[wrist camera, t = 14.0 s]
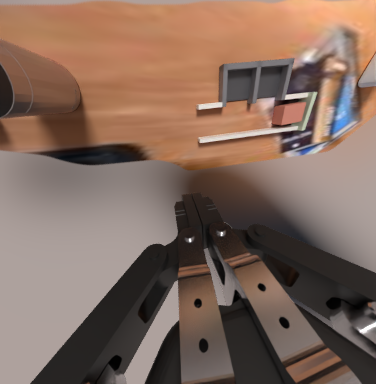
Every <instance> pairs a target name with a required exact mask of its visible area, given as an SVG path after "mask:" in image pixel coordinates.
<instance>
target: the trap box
mask: <svg viewBox="0 0 376 384" xmlns="http://www.w3.org/2000/svg"><path fill="white" fill-rule="evenodd" d="M294 59H295V58H291V59H279V60H267V61H255V62H243V63H231V64H223V65H222V66H220V73H219V102H217V103H208V104H199V105H196V109H198V110H200V109H208V108H217V107H226V101H235V100H244V99H248V101H247V104H252V103H256V100H257V98H263V97H272V96H275V100H287V99H296V98H299V100H298V102H306V106H305V110H304V113H303V117H302V121H300V122H295V123H292V125H288V126H281V127H273V128H266V129H258V130H251V131H243V132H236V133H228V134H221V135H213V136H206V137H198V142H199V143H205V142H212V141H219V140H227V139H234V138H241V137H248V136H256V135H263V134H270V133H277V132H285V131H292V130H301V131H302V130H305V127H306V124H307V121H308V118H309V115H310V112H311V109H312V106H313V103H314V100H315V98H316V95H317V92H309V93H299V94H290V95H286V92H287V88H288V84H289V80H290V76H291V71H292V67H293V63H294Z"/></svg>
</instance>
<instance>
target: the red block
mask: <svg viewBox="0 0 376 384" xmlns="http://www.w3.org/2000/svg"><path fill="white" fill-rule="evenodd" d="M305 106H306V102H294V103H289V104H284V105H279V106H275V108H274V114H273V120H272V124H277V125H285V124H290V123H295V122H300V121H302V117H303V113H304V110H305Z"/></svg>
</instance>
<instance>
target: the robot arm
mask: <svg viewBox="0 0 376 384" xmlns="http://www.w3.org/2000/svg"><path fill="white" fill-rule="evenodd" d="M80 98H81V95H80V90H79V87H78V84H77V83H76V81H75V79H74V78H73V76H72V75H71V74H70V73H69V72H68V71H67V69H65V68H64V67H63V66H62V65H60V64H58V63H57V62H55V61H52V60H50V59H48V58H45V57H43V56H41V55H38V54H36V53H33V52H31V51H29V50H26V49H24V48H21V47H19V46H16V45H14V44H12V43H9V42H7V41H4V40H2V39H0V119H4V118H14V117H25V116H37V115H48V114H59V113H69V112H72V111H74V110H75V109H77V107H78V106H79V103H80ZM175 214H176V221H177V227H178V235H177V237H176V239H175V240H174V241H173V242H171V243H170V244H168V245H166V246H163V245H162V244H153V245H150V246H148V247H147V248H146V249H145V250H144V251H143V252H142V253H141V255H140V256H139V257H138V258H137V259H136V260H135V262H134V263H133V264H132V265H131V266H130V268H129V269H128V270H127V271H126V272H125V273H124V275H123V276H122V277H121V278H120V279H119V280H118V282H117V283H116V284H115V285H114V286H113V287H112V289H111V290H110V291H109V292H108V293H107V295H106V296H105V297H104V298H103V299H102V300H101V301H100V303H99V304H98V305H97V306H96V307H95V308H94V310H93V311H92V312H91V313H90V314H89V316H88V317H87V318H86V319H85V320H84V321H83V323H82V324H81V325H80V326H79V327H78V328H77V330H76V331H75V332H74V333H73V334H72V335H71V337H70V338H69V339H68V340H67V341H66V342H65V344H64V345H63V346H62V347H61V348H60V350H59V351H58V352H57V353H56V354H55V355H54V357H53V358H52V359H51V360H50V361H49V363H48V364H47V365H46V366H45V367H44V368H43V370H42V371H41V372H40V373H39V374H38V375H37V376H36V378H35V379H34V380H33V381H32V382H31V383H30V384H126V378H125V376H124V373H125V371H126V369H127V368H128V366H129V364H130V362H131V360H132V359H133V357H134V355H135V353H136V351H137V350H138V348H139V346H140V344H141V342H142V340H143V339H144V337H145V335H146V333H147V331H148V329H149V328H150V326H151V324H152V322H153V320H154V319H155V317H156V315H157V313H158V311H159V310H160V308H161V306H162V304H163V302H164V301H165V299H166V297H167V295H168V293H169V291H170V289H171V288H172V286H173V284H174V282H175V281H177V280H178V297H179V321H178V322H176V324H175V325H174V326H173V327H172V328H171V329H170V331H169V332H168V334H167V335H166V337H165V339H164V341H163V343H162V345H161V347H160V349H159V351H158V354H157V356H156V358H155V361H154V363H153V365H152V368H151V370H150V372H149V374H148V377H147V379H146V382H145V384H376V273H375V272H372V271H370V270H367V269H365V268H363V267H360V266H358V265H356V264H353V263H351V262H349V261H346V260H344V259H341V258H339V257H337V256H335V255H332V254H330V253H327V252H325V251H323V250H320V249H318V248H316V247H313V246H311V245H308V244H306V243H304V242H302V241H299V240H297V239H294V238H292V237H290V236H287V235H285V234H282V233H280V232H278V231H275V230H273V229H271V228H269V227H266V226H264V225H260V224H253V225H250V226H249V227H248V229H247V230H240V229H233V228H231V226H230V225H228V224H227V223H224V221H223V219H222V217H221V215H220V213H219V212H218V210H217V209H216V206H215V205H214V203H213V201H212V200H211V199H210V198H209V197H202V195H201V192H195V193H191V194H184V195H182V201H180V202H176V204H175ZM205 248H208V250H209V254H210V260H211V263H212V265H213V267H214V270H215V272H216V275H217V277H218V280H219V282H220V285H221V287H222V290H223V294H224V298H225V302H226V305H227V306H223V305H218V303H217V299H216V294H215V289H214V285H213V281H212V276H211V272H210V269H209V267H208V265H207V260H206V256H205V252H204V249H205ZM287 293H288V294H289V295H291V296H292V297H294V298H296V299H297V300H299V301H300V302H302V303H303V304H305V305H306V306H308V307H310V308H311V309H313V310H314V311H316V312H318V313H319V314H321V315H322V316H324V317H325V318H327V319H328V320H330V321H331V322H332V324H333V329H332V328H331V327H329V326H328V325H327V324H325V323H323V322H322V321H321V320H319V319H318V318H316V317H315V316H313V315H312V314H311V313H309V312H308V311H306V310H305V309H303V308H302V307H300V306H299V305H297V304H295V303H293V302H292V300H291V299H290V297H289V296H288V295H287Z"/></svg>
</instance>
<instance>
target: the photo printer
mask: <svg viewBox="0 0 376 384" xmlns="http://www.w3.org/2000/svg"><path fill="white" fill-rule="evenodd" d="M358 86H359V87H361V88H362V87H372V86H376V54H375V55H374V57H373V58H372V60H371V62H370V63H369V65H368V66H367V68H366V70H365V71H364V73H363V75H362V76H361V78H360V80H359V82H358Z"/></svg>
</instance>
